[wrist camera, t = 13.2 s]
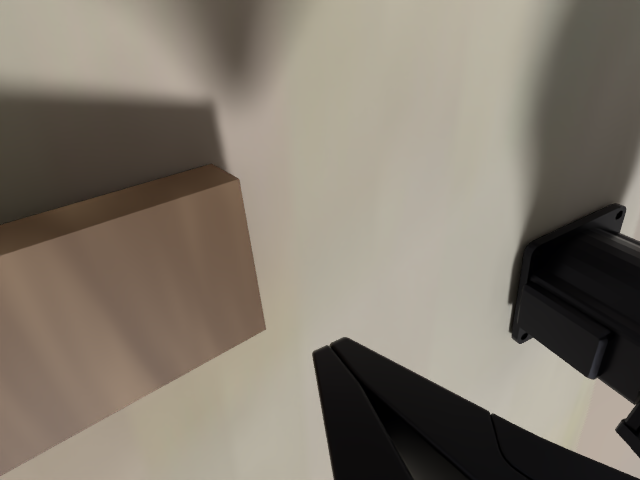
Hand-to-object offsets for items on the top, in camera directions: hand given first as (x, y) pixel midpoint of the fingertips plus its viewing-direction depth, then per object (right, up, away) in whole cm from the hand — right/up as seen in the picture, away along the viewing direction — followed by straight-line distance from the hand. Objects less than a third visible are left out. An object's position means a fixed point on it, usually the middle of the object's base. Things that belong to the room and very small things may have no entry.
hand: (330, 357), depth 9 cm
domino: (-3, +2, +3) cm, 5 cm away
